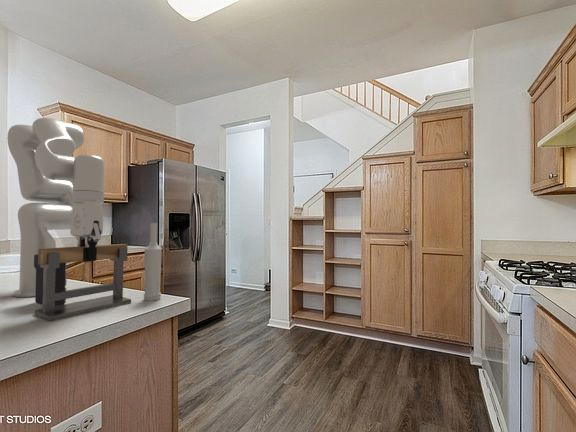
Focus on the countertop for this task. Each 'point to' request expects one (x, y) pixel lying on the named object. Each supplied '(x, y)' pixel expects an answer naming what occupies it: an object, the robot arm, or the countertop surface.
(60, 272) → the black notched bar
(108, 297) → the hook stand
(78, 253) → the rail
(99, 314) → the countertop surface
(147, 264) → the bottle
